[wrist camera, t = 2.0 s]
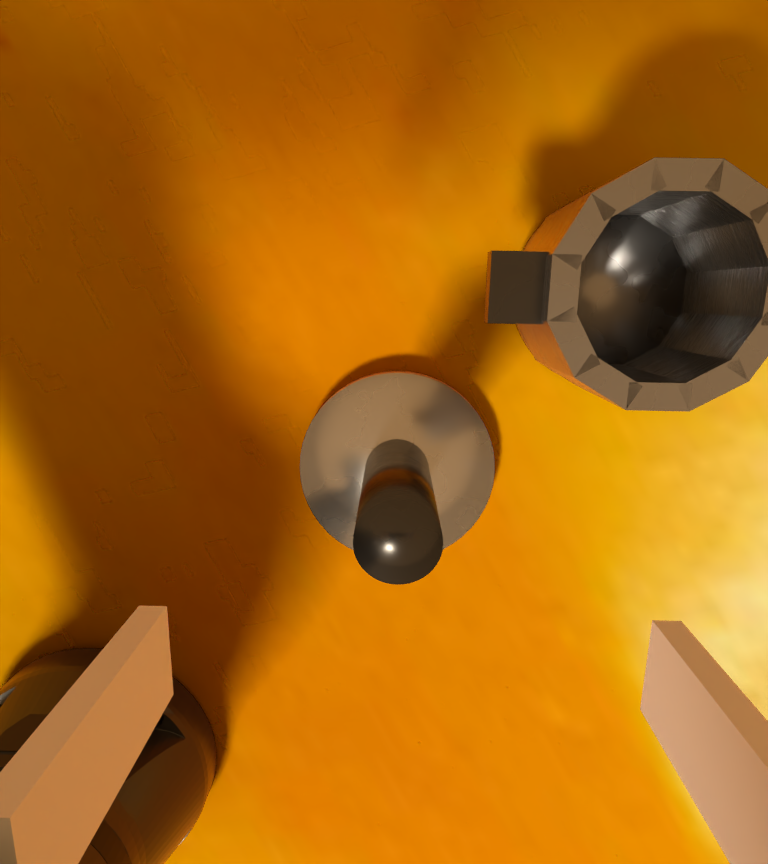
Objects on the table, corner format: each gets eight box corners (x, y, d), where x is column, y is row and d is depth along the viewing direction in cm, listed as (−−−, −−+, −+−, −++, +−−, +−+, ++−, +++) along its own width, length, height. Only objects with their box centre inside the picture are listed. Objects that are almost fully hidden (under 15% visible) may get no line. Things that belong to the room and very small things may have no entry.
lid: (304, 549, 36) (264, 661, 25) (301, 368, 33) (255, 404, 22) (485, 553, 35) (526, 668, 25) (497, 372, 33) (547, 410, 22)
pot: (464, 380, 33) (486, 407, 25) (474, 190, 31) (501, 155, 23) (726, 386, 33) (830, 414, 25) (755, 195, 30) (879, 160, 23)
